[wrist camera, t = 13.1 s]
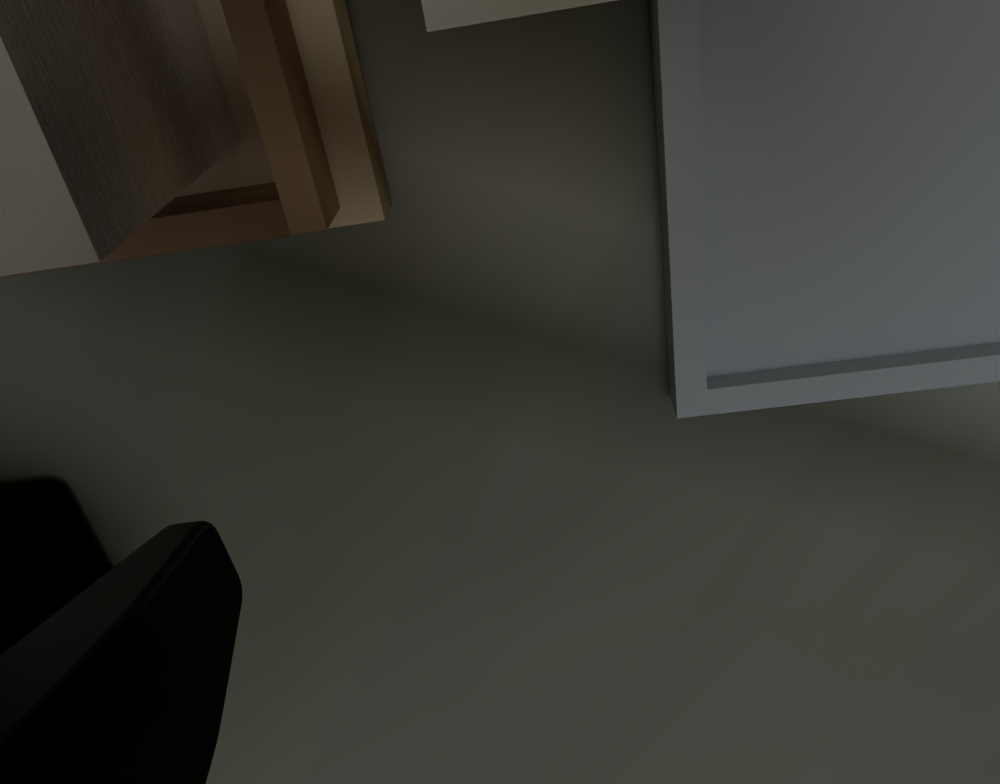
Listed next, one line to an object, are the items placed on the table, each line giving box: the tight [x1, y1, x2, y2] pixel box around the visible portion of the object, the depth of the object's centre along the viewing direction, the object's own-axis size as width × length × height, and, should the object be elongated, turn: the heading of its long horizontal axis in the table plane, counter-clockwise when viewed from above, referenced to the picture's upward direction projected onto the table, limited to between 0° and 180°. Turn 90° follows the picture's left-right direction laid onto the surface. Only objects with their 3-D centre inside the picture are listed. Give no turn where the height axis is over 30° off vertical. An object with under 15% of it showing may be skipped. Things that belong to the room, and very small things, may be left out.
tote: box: [650, 0, 1000, 418], centre depth 18 cm, size 11×11×1 cm
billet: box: [0, 0, 241, 276], centre depth 14 cm, size 4×4×7 cm
